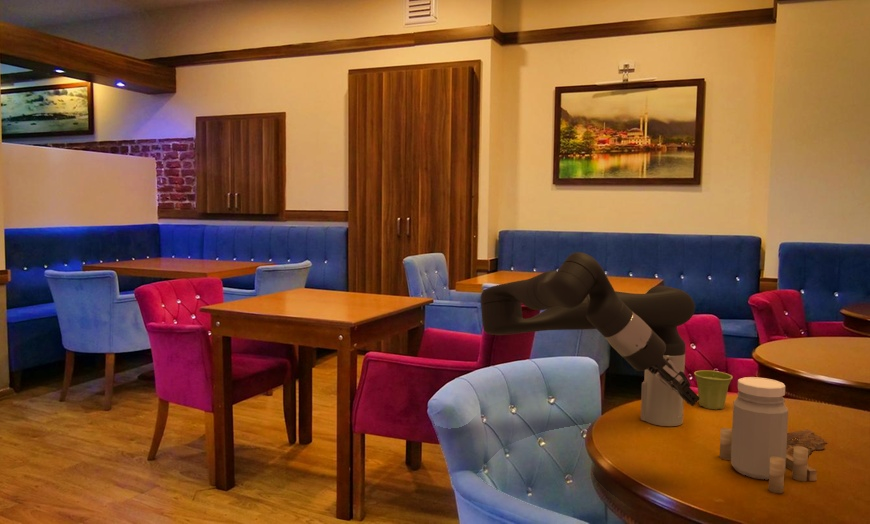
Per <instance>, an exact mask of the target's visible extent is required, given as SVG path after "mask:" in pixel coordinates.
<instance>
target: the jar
mask: <svg viewBox="0 0 870 524" xmlns="http://www.w3.org/2000/svg"><path fill="white" fill-rule="evenodd" d="M737 389H738V390H737V391H738V392H737V393H736V395H737V397H736V398H735V399H734V400H733V404H732V405H733V406H732V421H731V422H732V426H731V427H732V428H731V429H732V446H731V460H730V463H731V466H732V467H733V469H734V470H735V471H736V472H738V473H739V474H741V475H742V476H745V475H746V477H749V478H752V479H757V480H758V479H759V480H764V479H765V480H768V479H769V470H770V457H773V456H775V457H781V458H783V459H785V468H784V474H785V473H786V469H787V468H786V448H787V433H788V423H789V422H788V421H789V409H788V407H787V406H786V404H785V401H786V400H785V398H784V397H783V396H785V395H786V385H785V383H783V382H782V381H780V380H776V379H771V378H766V377H757V376H756V377H755V376H747V377H742V378H739V379H737ZM768 481H769V480H768Z"/></svg>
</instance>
